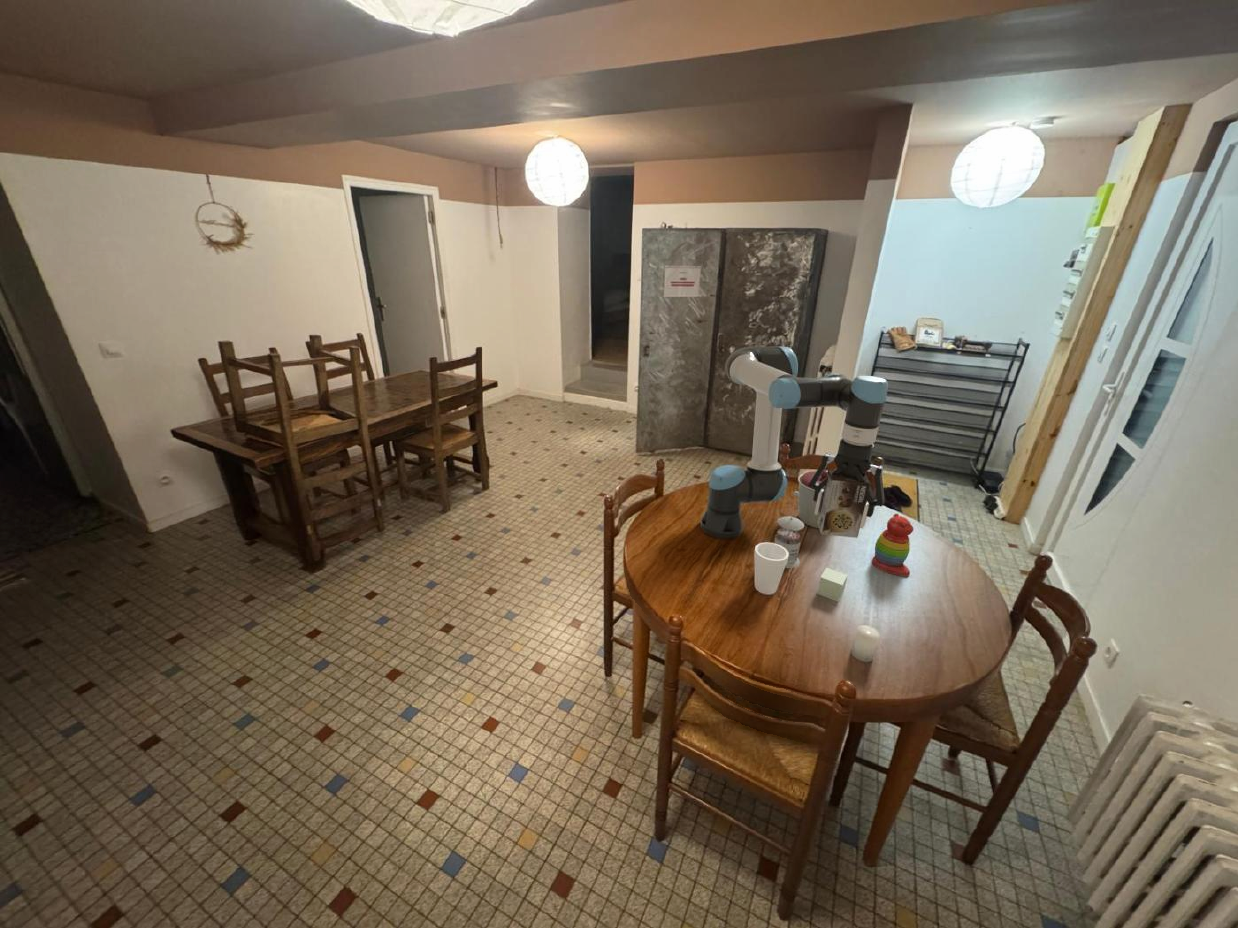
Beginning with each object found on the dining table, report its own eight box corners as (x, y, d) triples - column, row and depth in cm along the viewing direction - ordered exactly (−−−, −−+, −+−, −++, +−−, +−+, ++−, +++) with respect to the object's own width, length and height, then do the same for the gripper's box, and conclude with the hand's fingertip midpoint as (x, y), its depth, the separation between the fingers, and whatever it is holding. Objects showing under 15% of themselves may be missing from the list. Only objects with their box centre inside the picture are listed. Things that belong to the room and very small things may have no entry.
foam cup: (745, 578, 144) (750, 542, 139) (774, 577, 145) (780, 541, 140) (756, 598, 135) (762, 561, 130) (786, 597, 136) (794, 560, 131)
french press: (765, 562, 152) (777, 494, 142) (772, 545, 161) (783, 479, 151) (797, 571, 148) (811, 501, 138) (802, 552, 157) (816, 486, 147)
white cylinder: (849, 655, 116) (855, 633, 113) (853, 643, 120) (859, 622, 117) (871, 665, 113) (877, 643, 111) (874, 652, 117) (881, 631, 114)
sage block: (816, 593, 138) (820, 577, 136) (822, 583, 142) (826, 567, 140) (838, 602, 135) (842, 585, 132) (843, 591, 139) (847, 574, 137)
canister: (809, 536, 166) (820, 483, 158) (781, 512, 183) (790, 463, 174) (852, 531, 170) (865, 478, 162) (822, 507, 186) (832, 459, 178)
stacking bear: (911, 577, 145) (927, 528, 138) (876, 573, 147) (890, 524, 140) (899, 557, 155) (913, 511, 148) (866, 554, 157) (879, 507, 150)
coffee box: (851, 526, 126) (865, 472, 120) (857, 538, 120) (872, 482, 114) (816, 522, 128) (827, 468, 121) (820, 534, 122) (832, 479, 116)
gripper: (804, 434, 118) (790, 510, 127) (908, 456, 105) (884, 540, 114) (813, 427, 123) (799, 500, 132) (913, 447, 110) (890, 527, 119)
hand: (839, 519), depth 123 cm, fingers closed on coffee box, 10 cm apart
